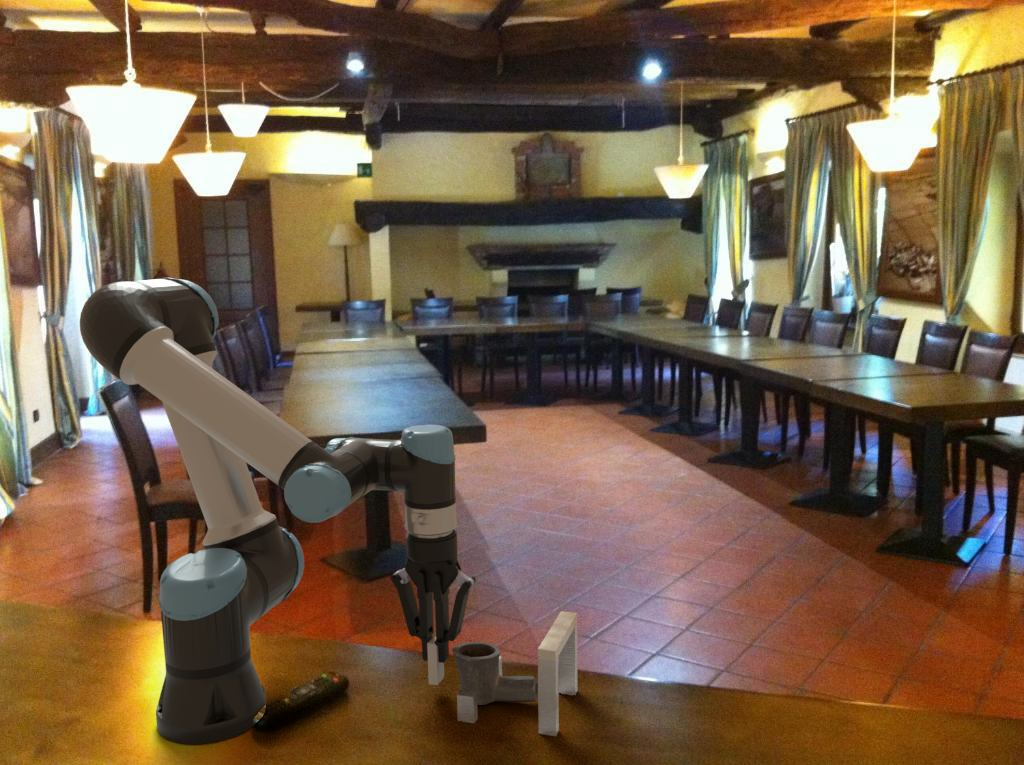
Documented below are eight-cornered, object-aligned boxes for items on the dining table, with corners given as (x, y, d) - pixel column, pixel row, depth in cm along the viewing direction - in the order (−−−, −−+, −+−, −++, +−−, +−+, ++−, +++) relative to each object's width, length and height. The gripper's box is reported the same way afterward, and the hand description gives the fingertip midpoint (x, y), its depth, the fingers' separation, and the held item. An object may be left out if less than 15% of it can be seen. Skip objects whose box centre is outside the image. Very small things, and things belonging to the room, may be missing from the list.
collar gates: (457, 721, 126) (455, 638, 124) (487, 678, 138) (485, 602, 136) (556, 736, 121) (555, 651, 119) (577, 690, 134) (577, 612, 132)
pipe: (534, 714, 127) (533, 662, 126) (448, 707, 129) (446, 656, 128) (540, 693, 133) (539, 643, 132) (457, 687, 135) (456, 638, 134)
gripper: (379, 535, 128) (386, 686, 132) (463, 542, 124) (468, 698, 128) (401, 519, 135) (407, 664, 139) (481, 526, 131) (485, 674, 135)
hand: (436, 680), depth 133 cm, fingers closed
